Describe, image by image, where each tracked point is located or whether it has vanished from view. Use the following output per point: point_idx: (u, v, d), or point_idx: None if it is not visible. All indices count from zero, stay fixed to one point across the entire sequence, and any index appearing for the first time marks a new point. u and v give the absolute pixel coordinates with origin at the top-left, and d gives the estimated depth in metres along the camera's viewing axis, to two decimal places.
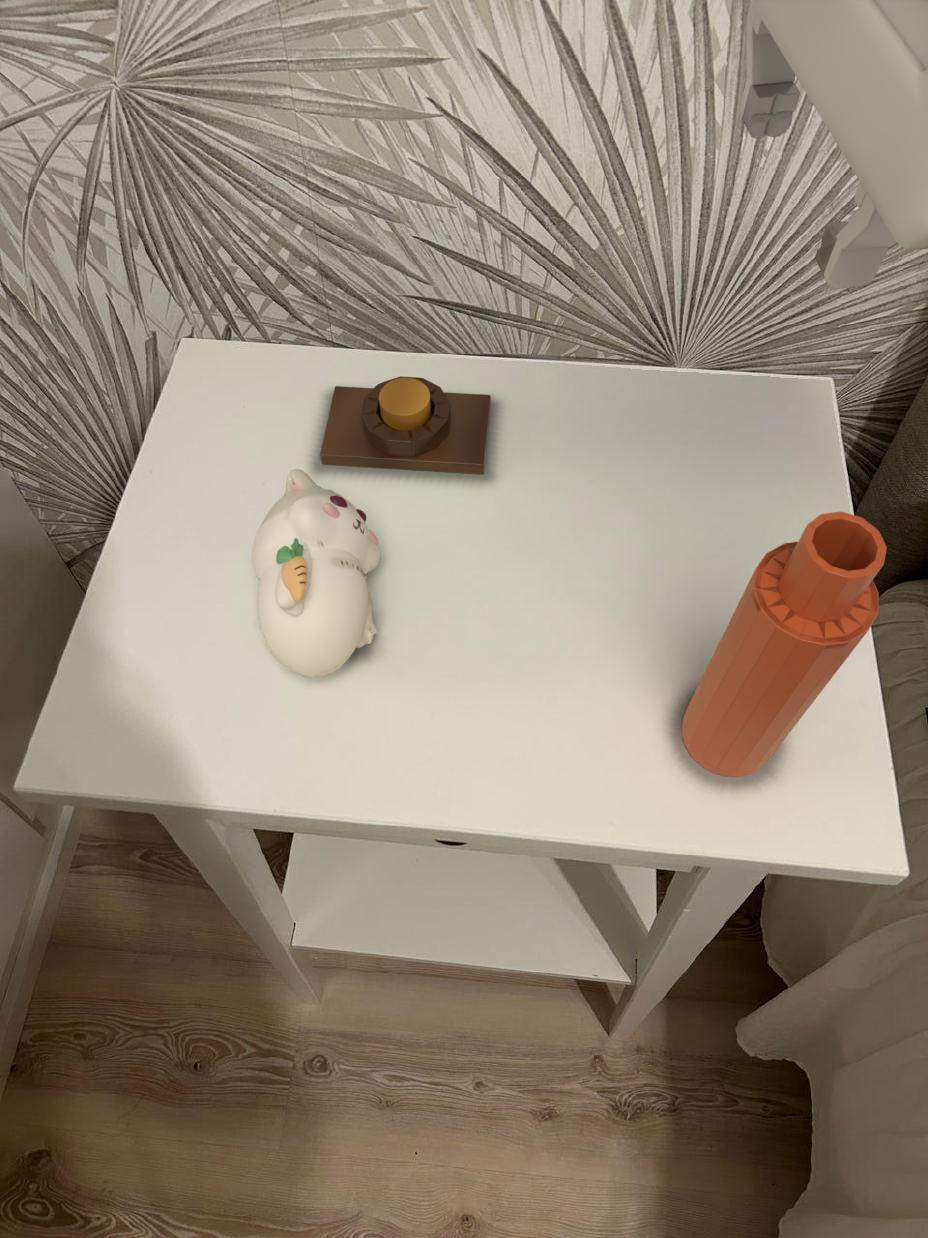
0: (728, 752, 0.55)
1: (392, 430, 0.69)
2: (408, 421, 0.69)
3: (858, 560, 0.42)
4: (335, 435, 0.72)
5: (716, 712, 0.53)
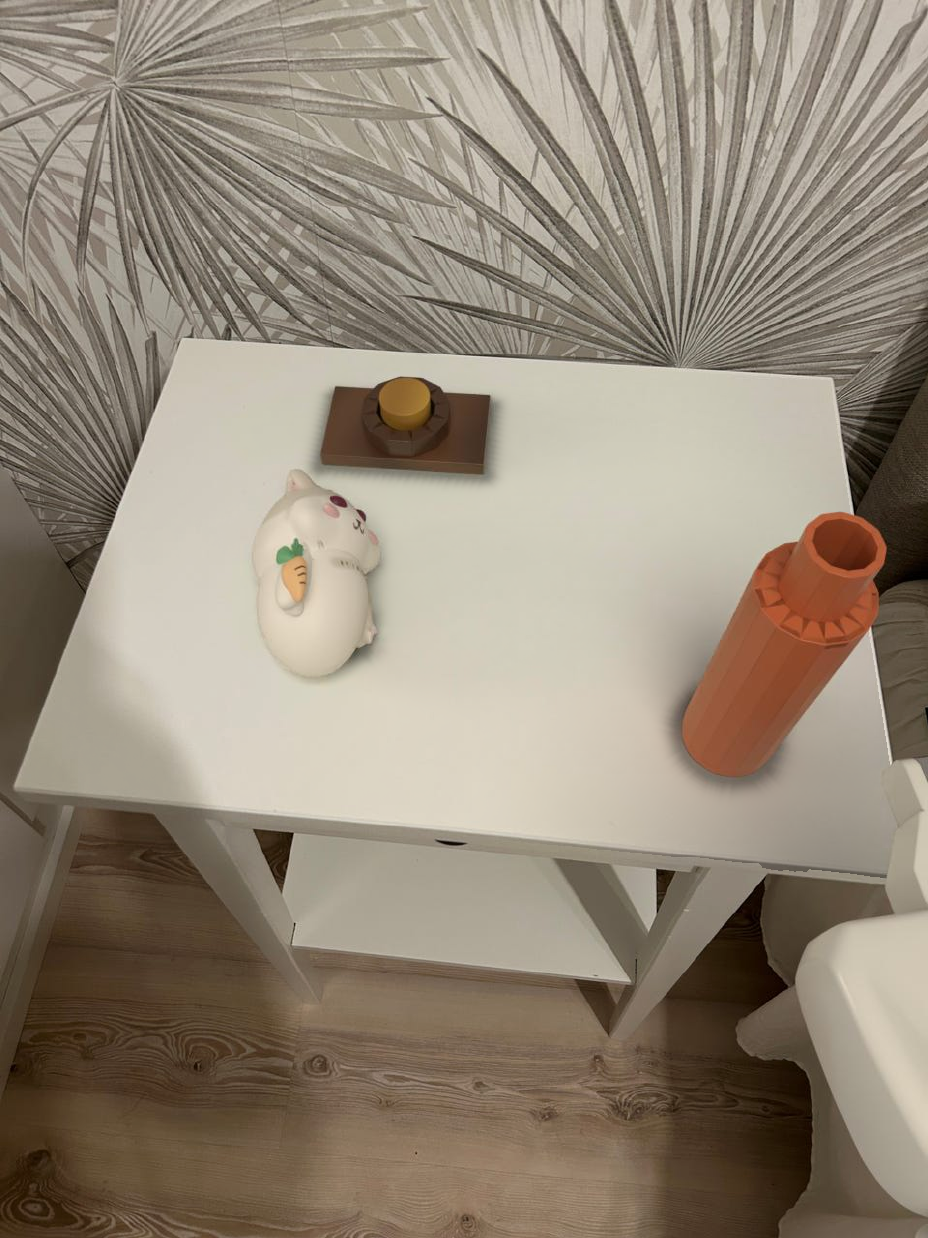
0: (728, 752, 0.55)
1: (392, 430, 0.69)
2: (408, 421, 0.69)
3: (858, 560, 0.42)
4: (335, 435, 0.72)
5: (716, 712, 0.53)
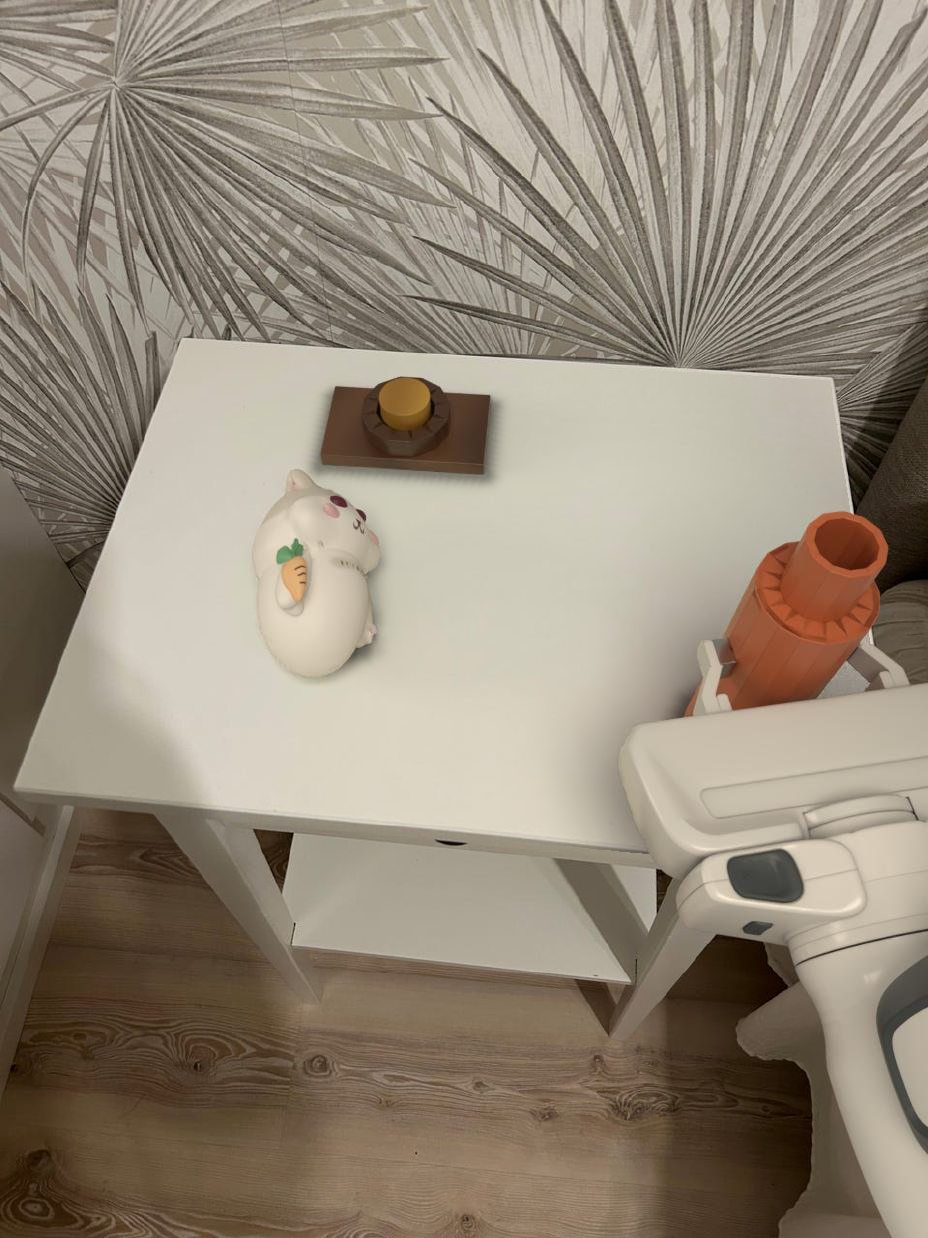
0: None
1: (392, 430, 0.69)
2: (408, 421, 0.69)
3: (860, 560, 0.42)
4: (335, 435, 0.72)
5: None
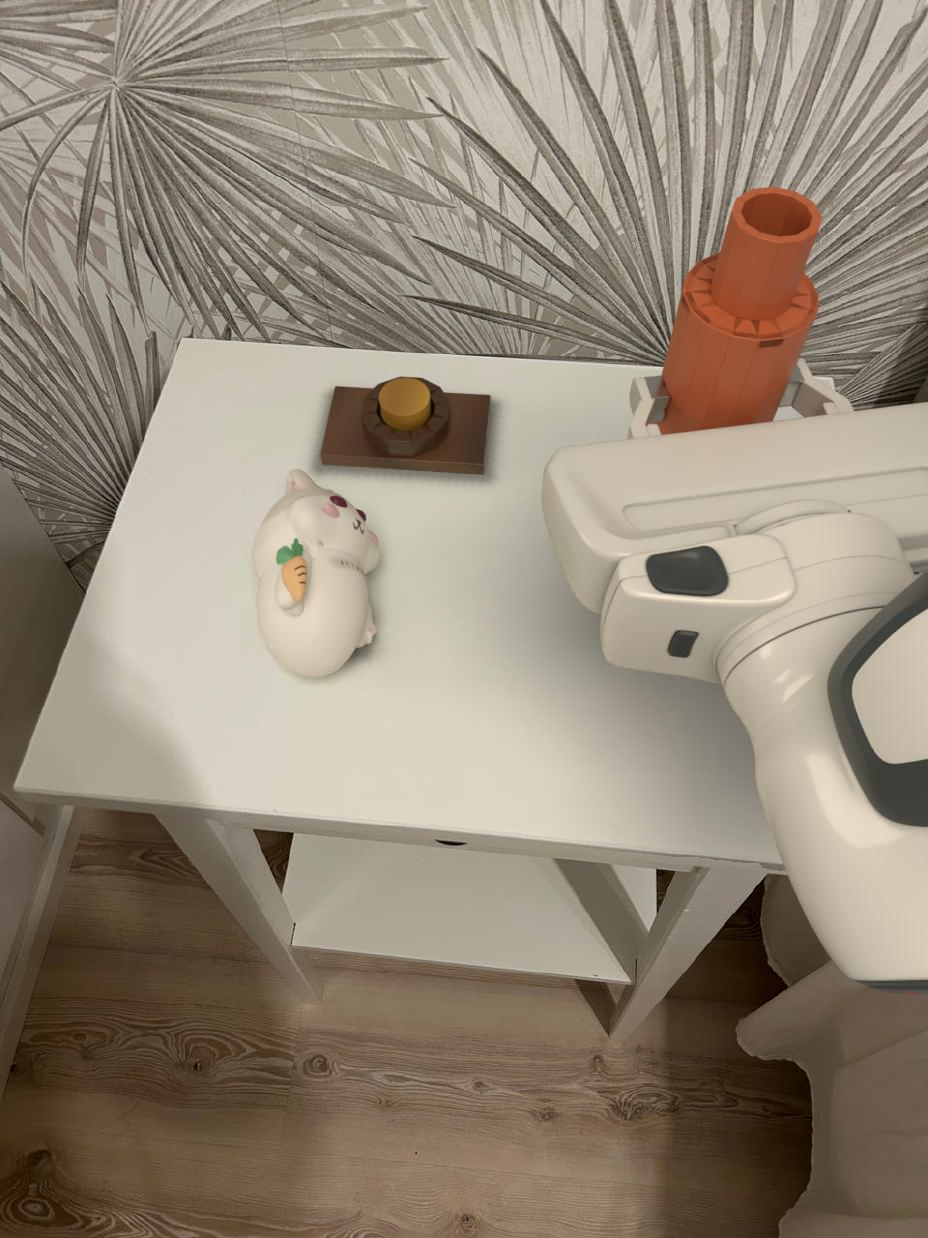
0: None
1: (392, 430, 0.69)
2: (408, 421, 0.69)
3: None
4: (335, 435, 0.72)
5: None
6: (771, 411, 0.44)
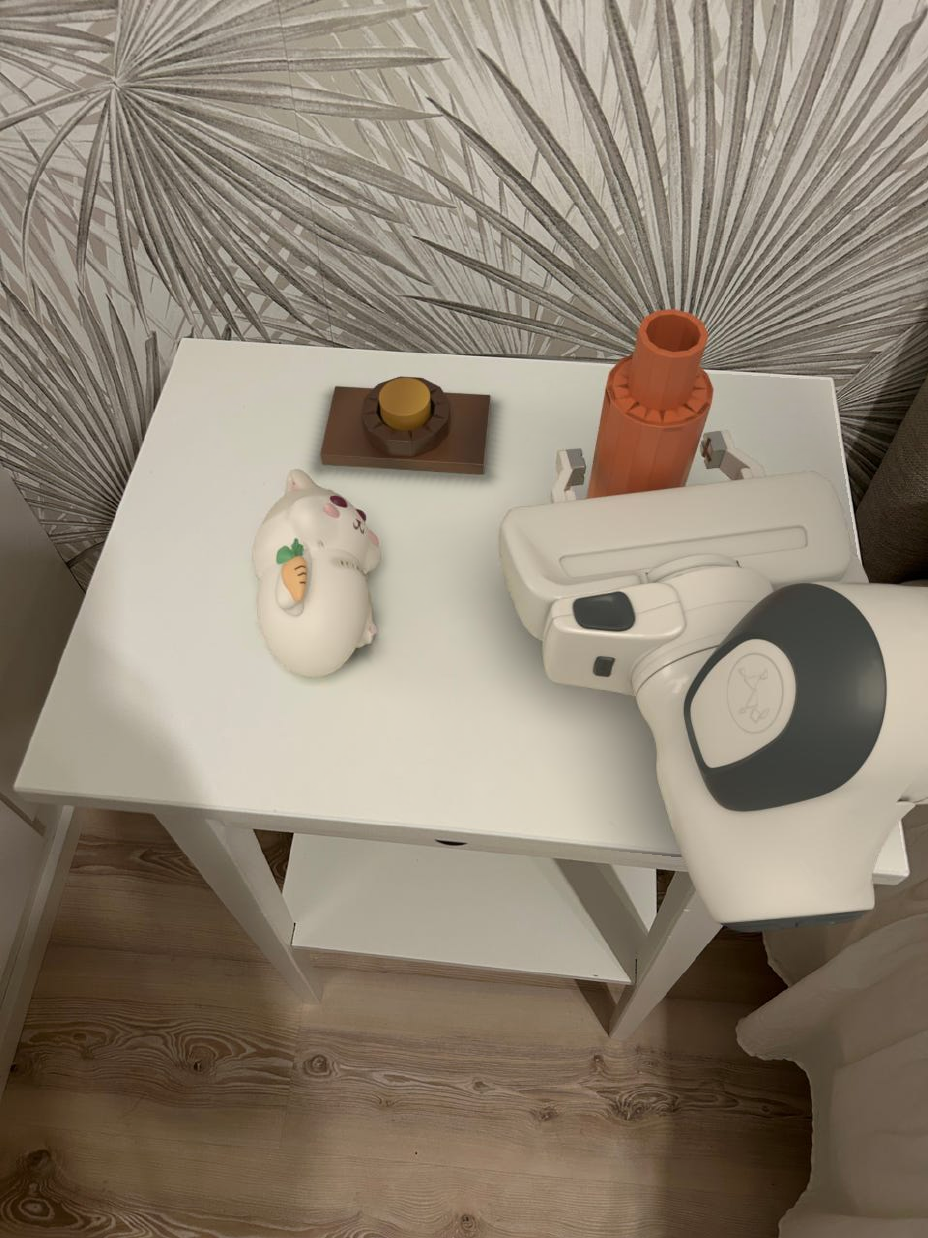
0: None
1: (392, 430, 0.69)
2: (408, 421, 0.69)
3: None
4: (335, 435, 0.72)
5: None
6: (682, 476, 0.54)
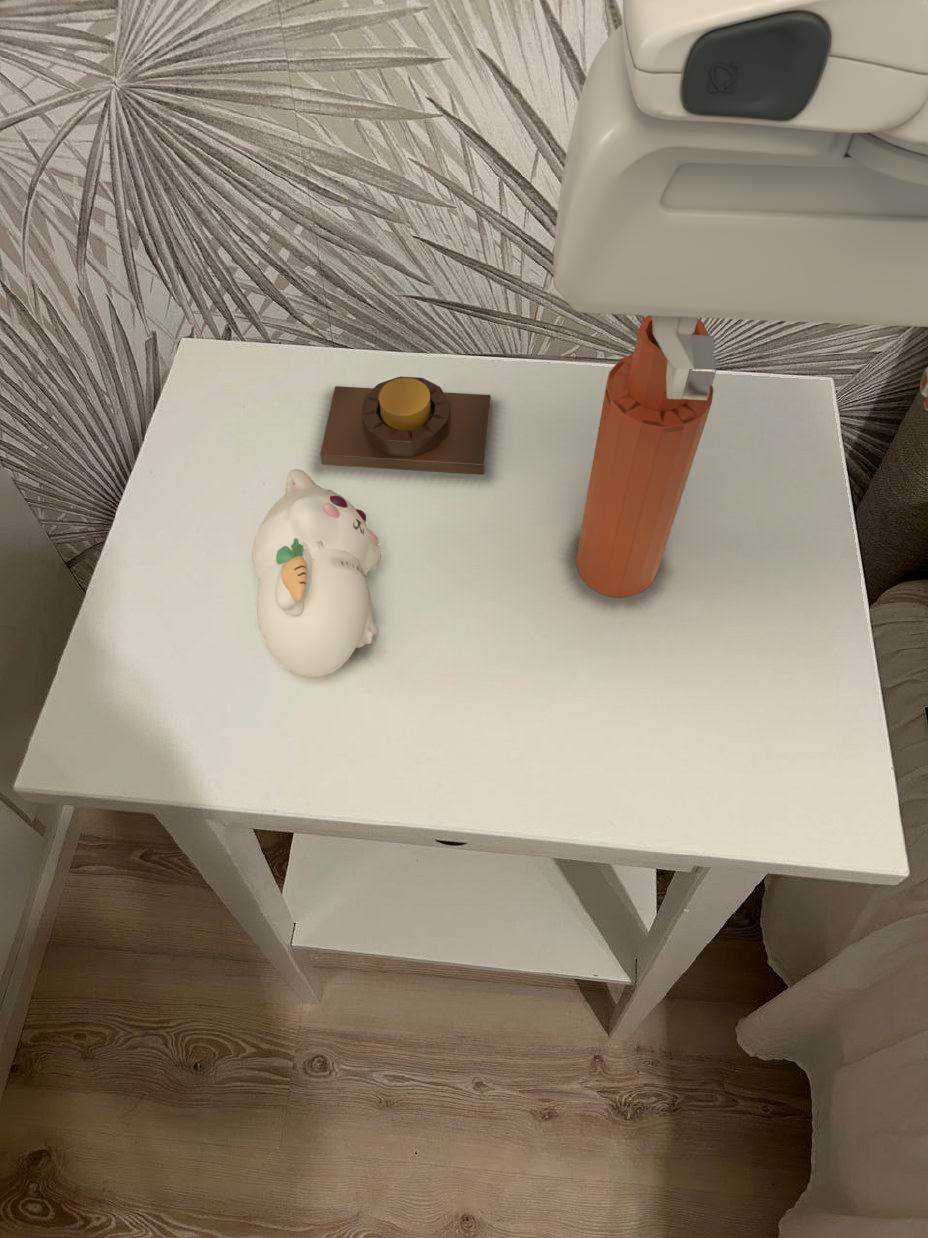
0: (610, 566, 0.62)
1: (392, 430, 0.69)
2: (408, 421, 0.69)
3: None
4: (335, 435, 0.72)
5: (594, 524, 0.60)
6: (682, 476, 0.54)
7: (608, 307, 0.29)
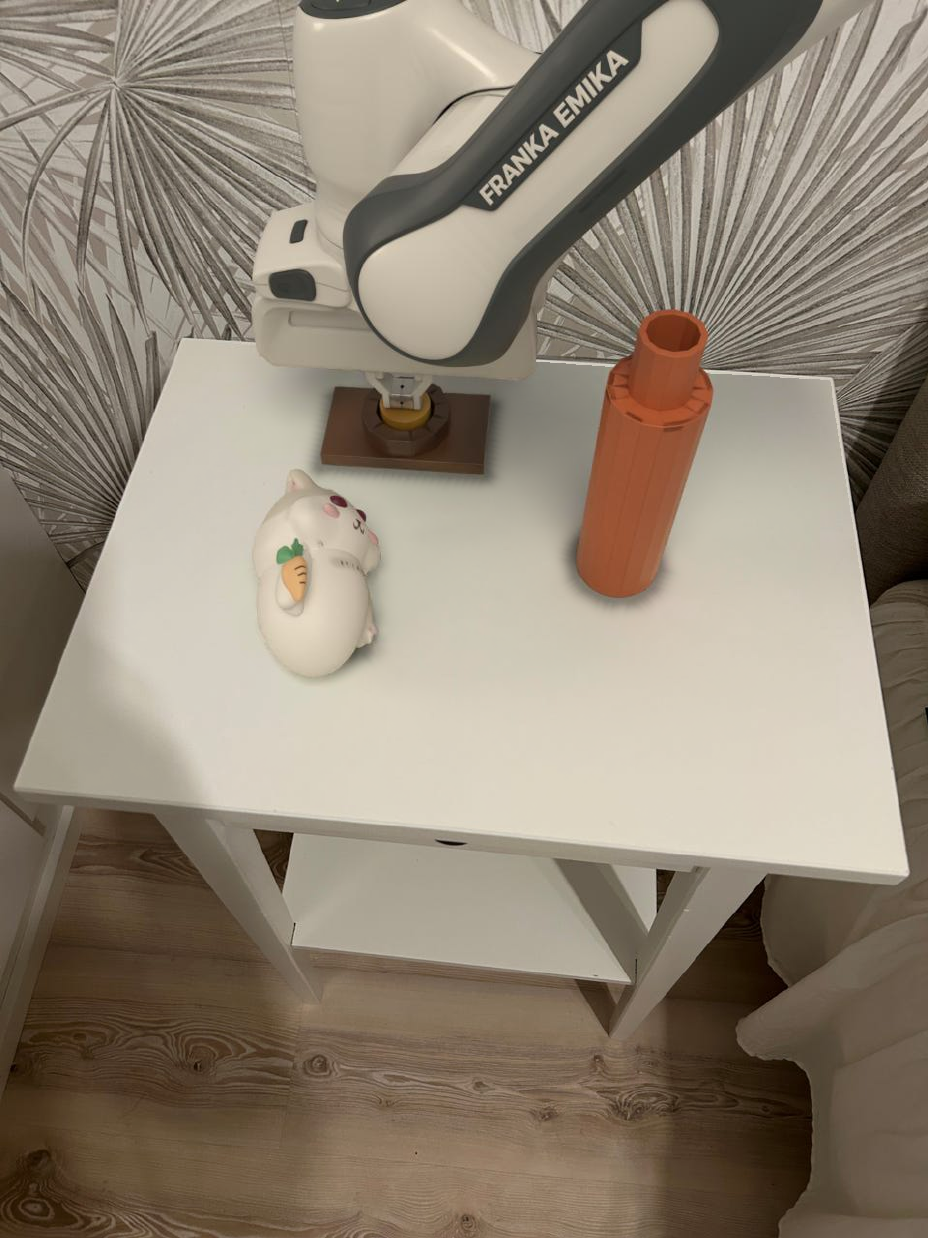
0: (610, 566, 0.62)
1: (392, 430, 0.69)
2: (408, 428, 0.70)
3: None
4: (335, 435, 0.72)
5: (594, 524, 0.60)
6: (682, 476, 0.54)
7: (284, 363, 0.65)
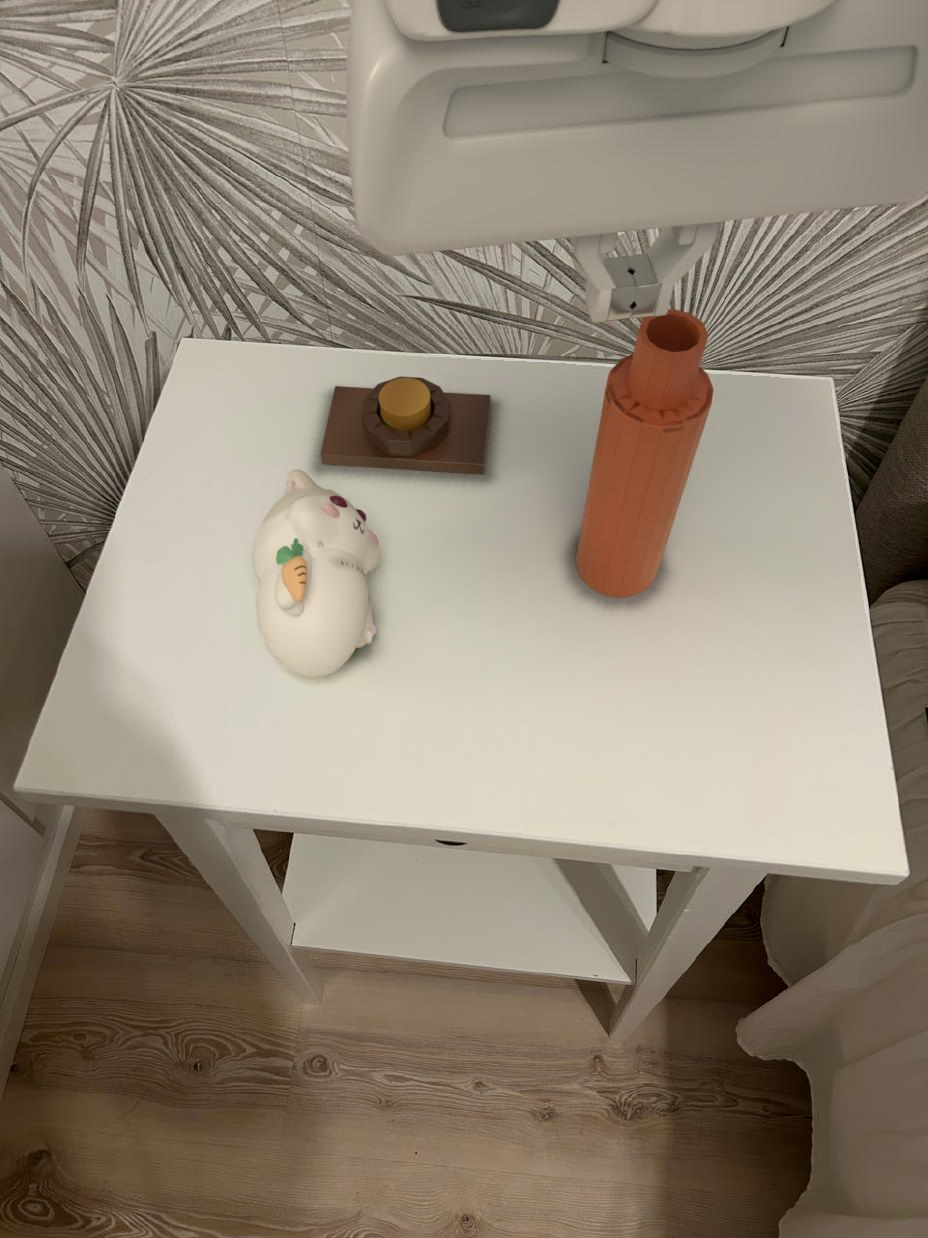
0: (610, 566, 0.62)
1: (392, 430, 0.69)
2: (408, 421, 0.69)
3: None
4: (335, 435, 0.72)
5: (594, 524, 0.60)
6: (682, 476, 0.54)
7: (415, 246, 0.29)
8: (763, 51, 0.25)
